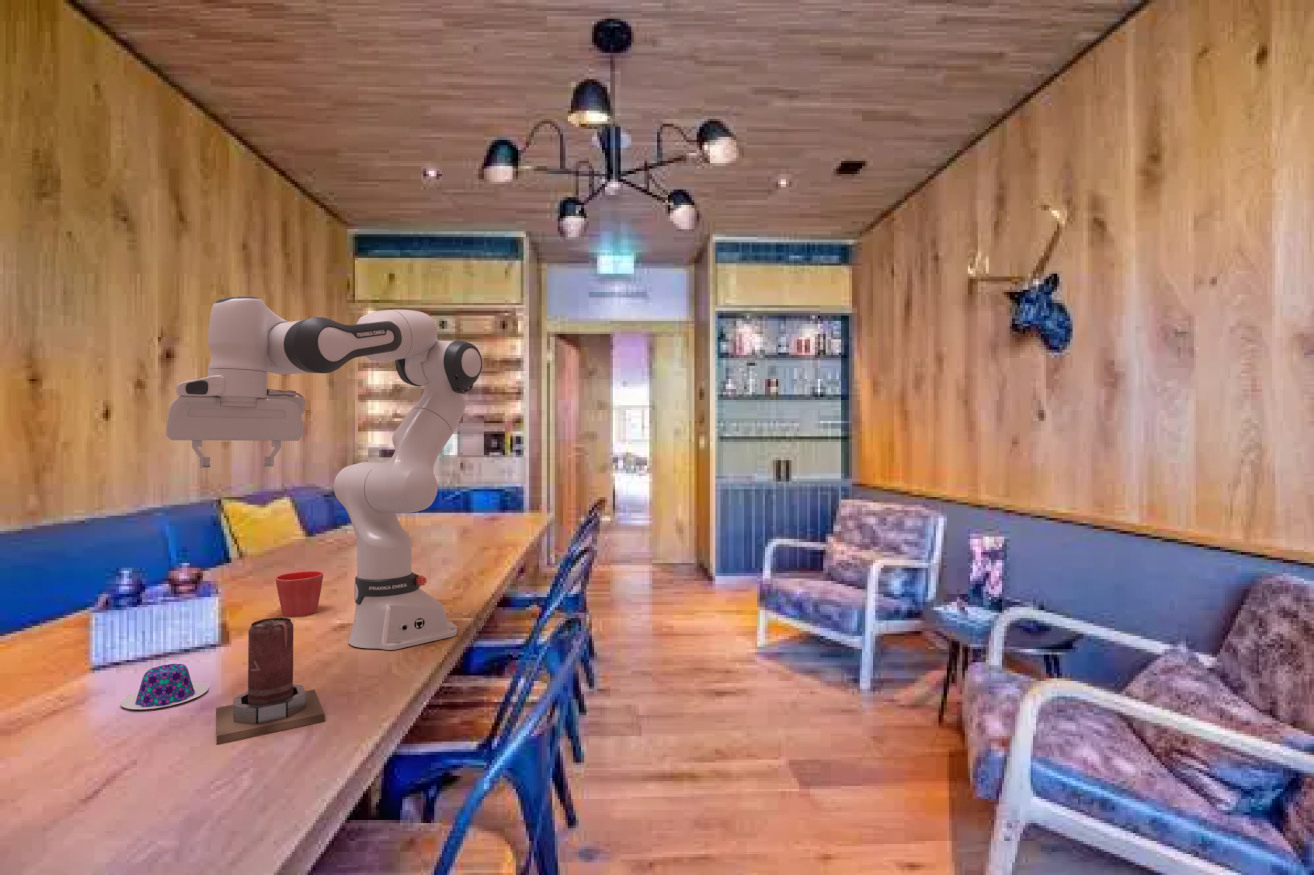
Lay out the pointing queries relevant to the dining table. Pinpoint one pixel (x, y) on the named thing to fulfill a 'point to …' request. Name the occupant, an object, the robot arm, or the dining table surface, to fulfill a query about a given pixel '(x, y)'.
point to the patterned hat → (164, 688)
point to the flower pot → (299, 592)
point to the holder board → (236, 731)
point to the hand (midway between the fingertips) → (237, 467)
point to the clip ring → (268, 708)
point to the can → (270, 661)
